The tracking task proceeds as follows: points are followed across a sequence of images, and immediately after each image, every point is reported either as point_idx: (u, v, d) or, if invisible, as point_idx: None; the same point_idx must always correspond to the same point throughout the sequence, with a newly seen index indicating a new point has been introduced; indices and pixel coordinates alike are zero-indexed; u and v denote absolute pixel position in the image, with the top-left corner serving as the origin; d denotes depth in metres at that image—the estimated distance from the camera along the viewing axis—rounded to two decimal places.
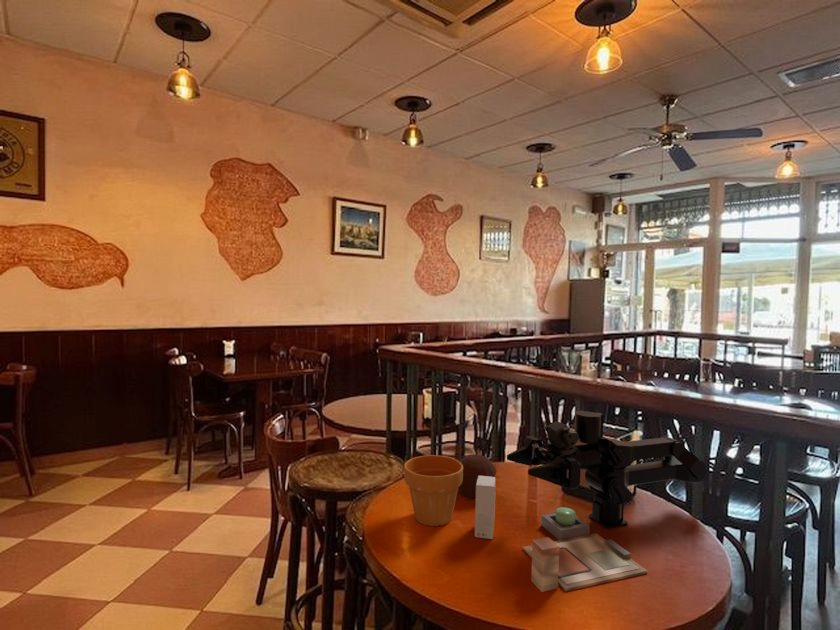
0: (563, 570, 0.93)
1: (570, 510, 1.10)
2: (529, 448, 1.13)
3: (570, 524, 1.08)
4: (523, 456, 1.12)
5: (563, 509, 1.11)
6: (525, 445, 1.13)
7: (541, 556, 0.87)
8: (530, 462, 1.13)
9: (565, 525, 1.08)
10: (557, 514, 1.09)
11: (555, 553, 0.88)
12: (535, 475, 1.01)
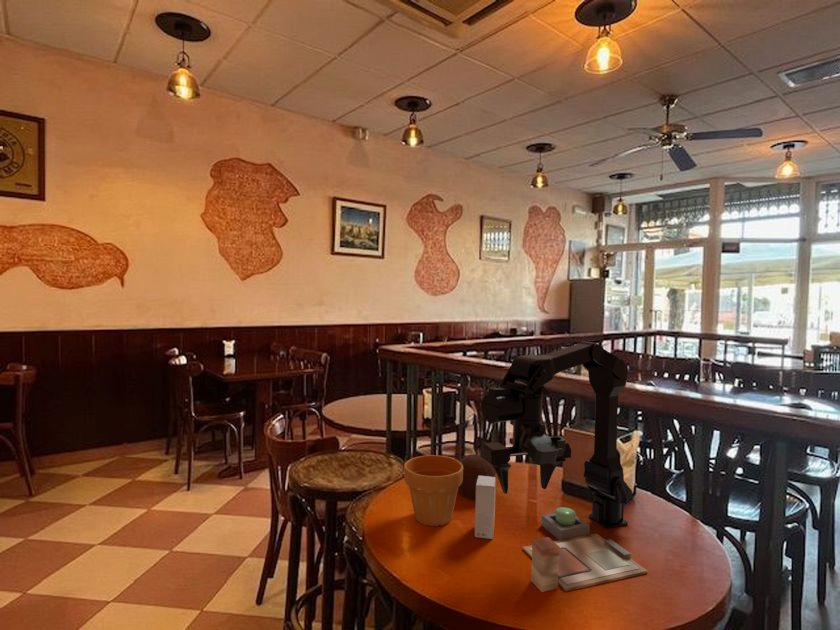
0: (563, 570, 0.93)
1: (570, 510, 1.10)
2: None
3: (570, 524, 1.08)
4: None
5: (563, 509, 1.11)
6: (504, 470, 0.96)
7: (541, 556, 0.87)
8: None
9: (565, 525, 1.08)
10: (557, 514, 1.09)
11: (555, 553, 0.88)
12: None
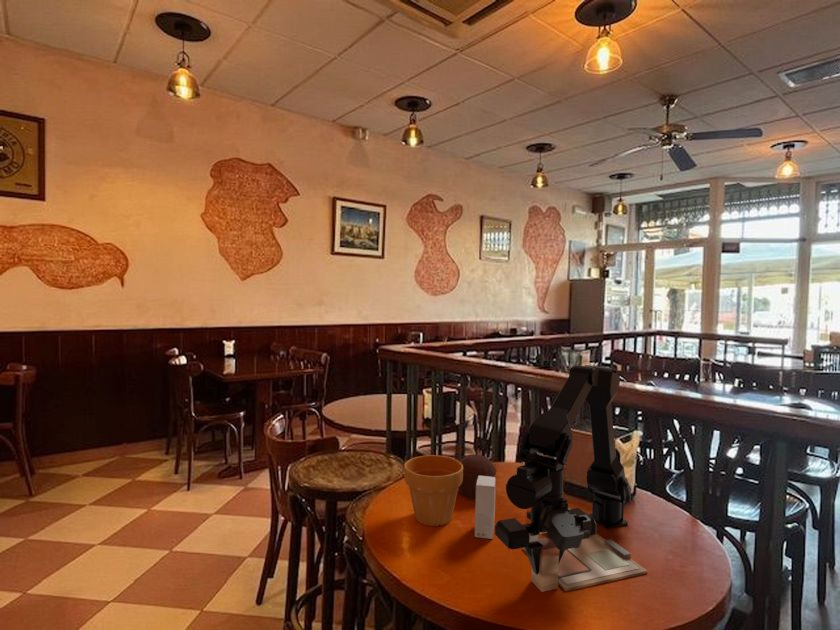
0: (563, 570, 0.93)
1: None
2: None
3: None
4: None
5: None
6: (535, 550, 0.86)
7: (541, 556, 0.87)
8: None
9: None
10: None
11: (555, 553, 0.88)
12: None
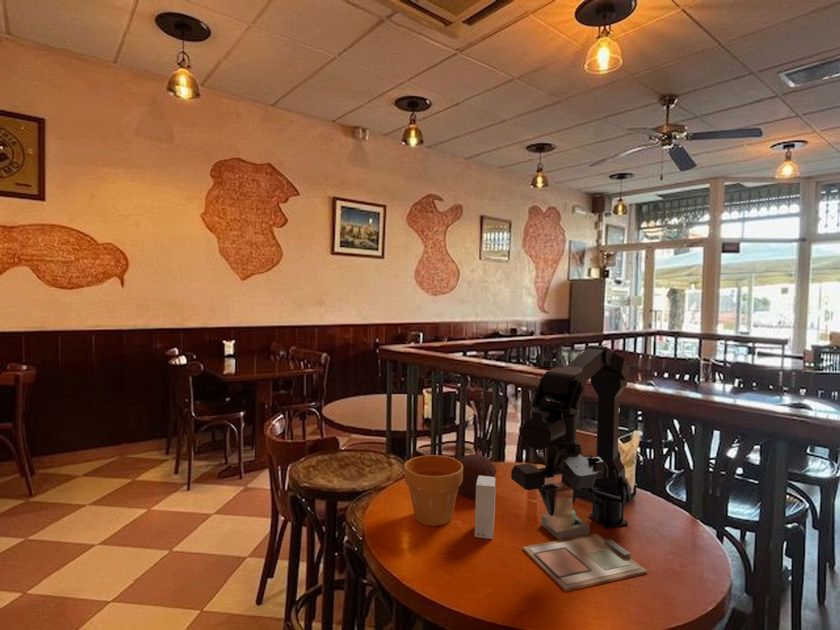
0: (563, 570, 0.93)
1: None
2: None
3: None
4: None
5: None
6: (550, 492, 0.90)
7: (556, 498, 0.91)
8: None
9: None
10: None
11: (569, 495, 0.92)
12: None
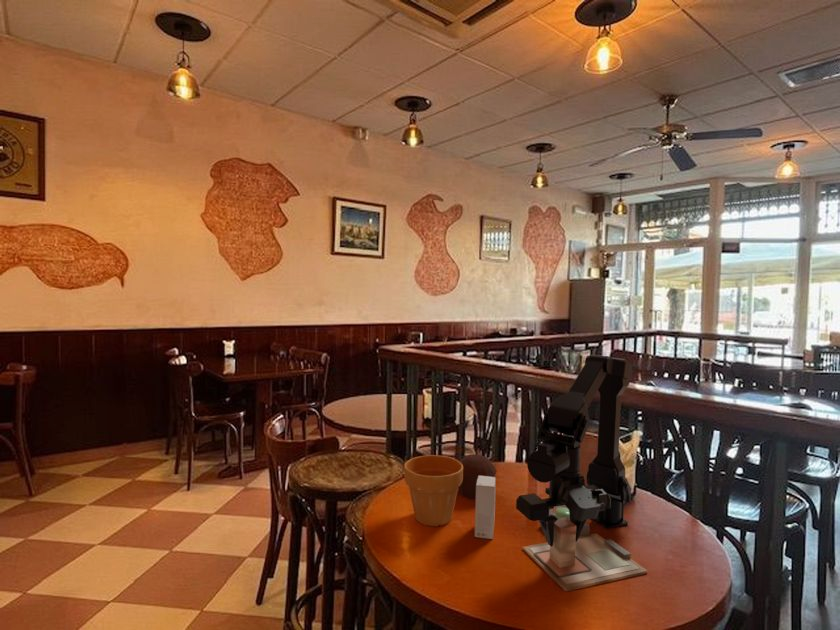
0: (563, 570, 0.93)
1: None
2: None
3: None
4: None
5: (563, 509, 1.11)
6: (550, 523, 0.92)
7: (559, 534, 0.94)
8: None
9: None
10: (557, 514, 1.09)
11: (572, 531, 0.94)
12: None
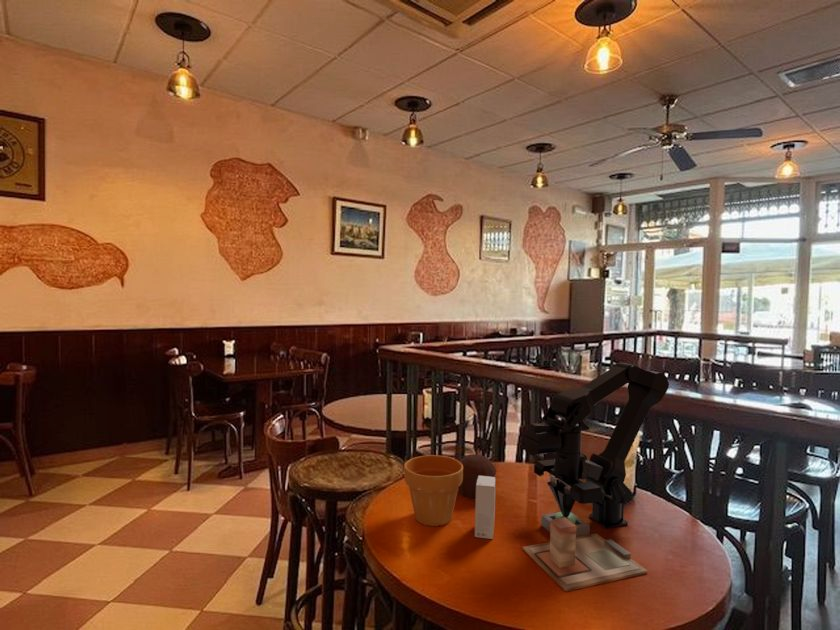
0: (563, 570, 0.93)
1: (570, 515, 1.10)
2: None
3: None
4: None
5: None
6: None
7: (559, 534, 0.94)
8: None
9: None
10: None
11: (572, 531, 0.94)
12: None
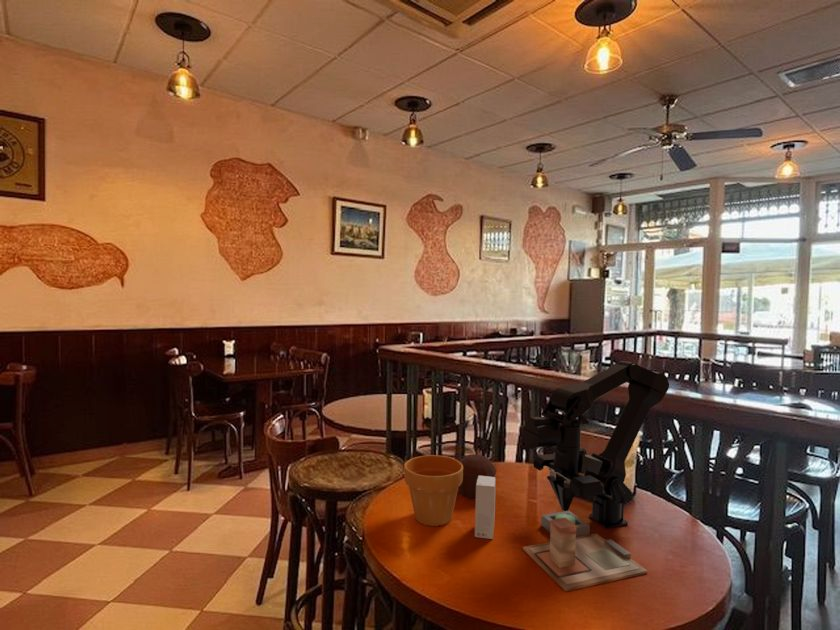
0: (563, 570, 0.93)
1: (570, 517, 1.10)
2: None
3: None
4: None
5: (563, 516, 1.11)
6: None
7: (559, 534, 0.94)
8: None
9: None
10: None
11: (572, 531, 0.94)
12: None
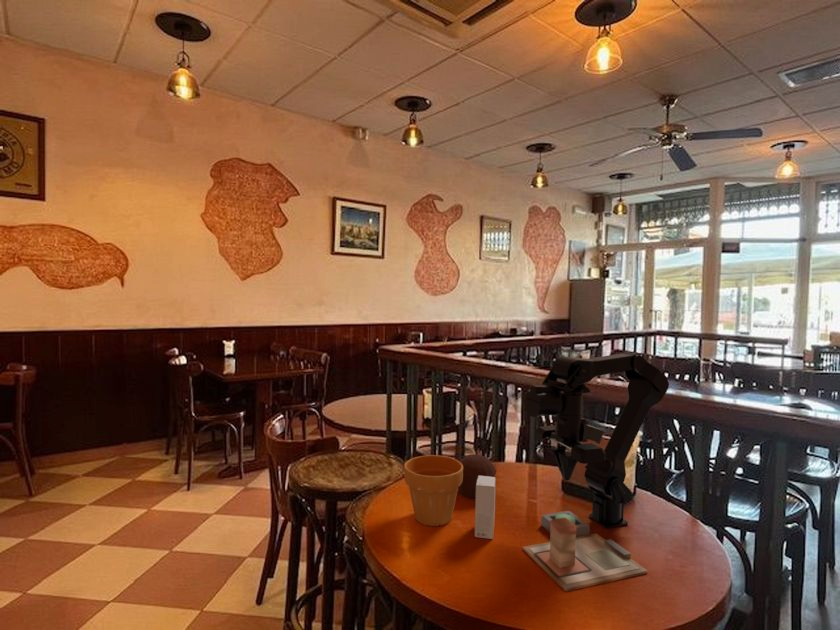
0: (563, 570, 0.93)
1: (570, 517, 1.10)
2: None
3: None
4: None
5: (563, 516, 1.11)
6: None
7: (559, 534, 0.94)
8: None
9: None
10: None
11: (572, 531, 0.94)
12: None
